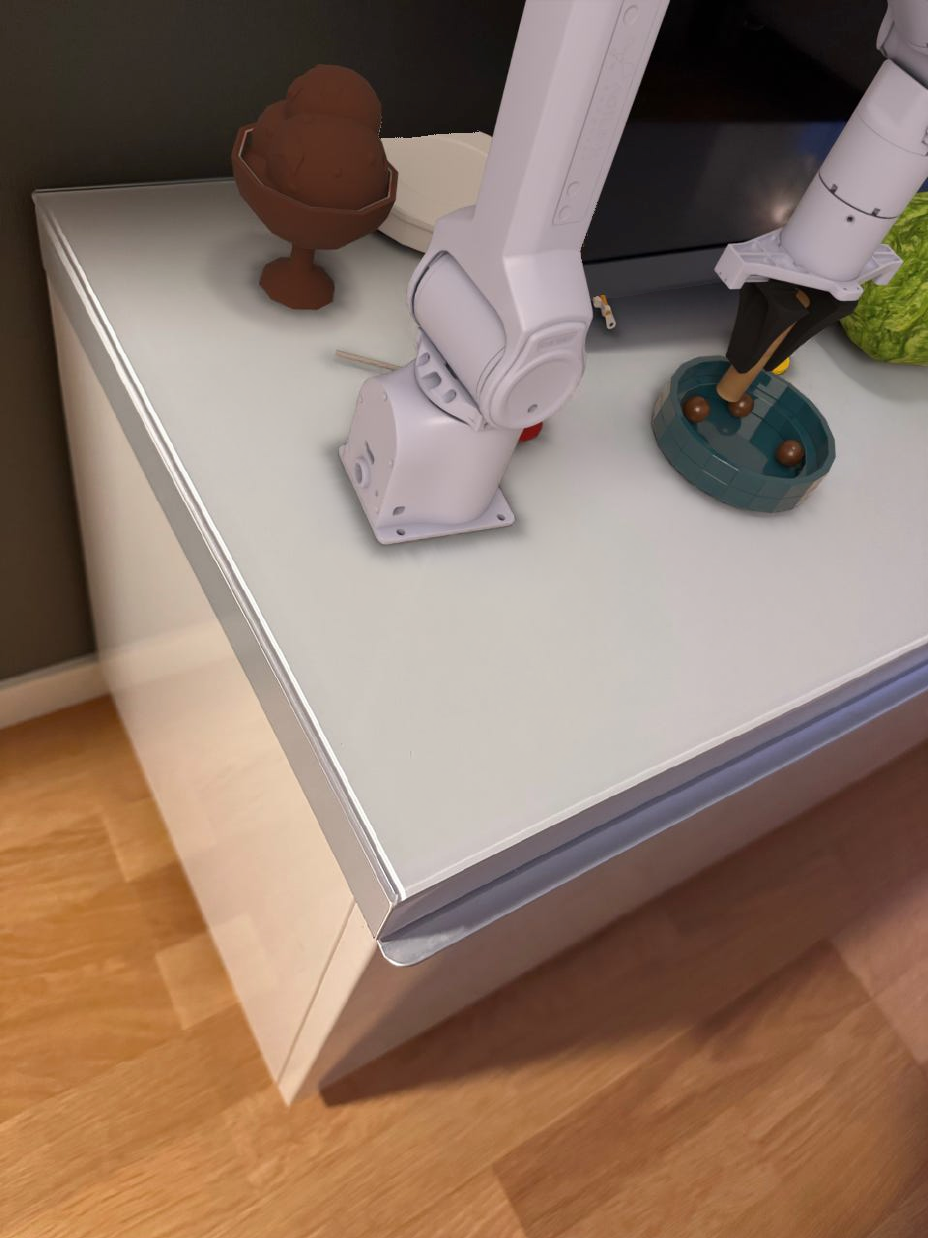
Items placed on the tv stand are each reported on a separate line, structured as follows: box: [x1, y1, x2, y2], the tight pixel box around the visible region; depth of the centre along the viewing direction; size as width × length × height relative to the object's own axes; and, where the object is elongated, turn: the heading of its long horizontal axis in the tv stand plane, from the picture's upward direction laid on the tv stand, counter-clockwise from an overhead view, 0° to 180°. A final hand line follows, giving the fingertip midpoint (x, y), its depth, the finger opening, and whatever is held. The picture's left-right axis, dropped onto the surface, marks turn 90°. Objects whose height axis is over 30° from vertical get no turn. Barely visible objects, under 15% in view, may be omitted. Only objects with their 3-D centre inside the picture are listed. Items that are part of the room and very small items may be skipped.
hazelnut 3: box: [776, 440, 804, 467], centre depth 72 cm, size 2×2×2 cm
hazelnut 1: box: [683, 396, 710, 423], centre depth 72 cm, size 2×2×2 cm
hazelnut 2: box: [727, 392, 754, 418], centre depth 74 cm, size 2×2×2 cm
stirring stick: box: [716, 288, 810, 402], centre depth 68 cm, size 2×2×9 cm
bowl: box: [651, 354, 837, 514], centre depth 71 cm, size 13×13×4 cm
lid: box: [377, 131, 493, 254], centre depth 81 cm, size 17×20×3 cm
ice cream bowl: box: [230, 63, 399, 311], centre depth 64 cm, size 11×11×15 cm
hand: (748, 363), depth 69 cm, fingers closed on stirring stick, 2 cm apart
